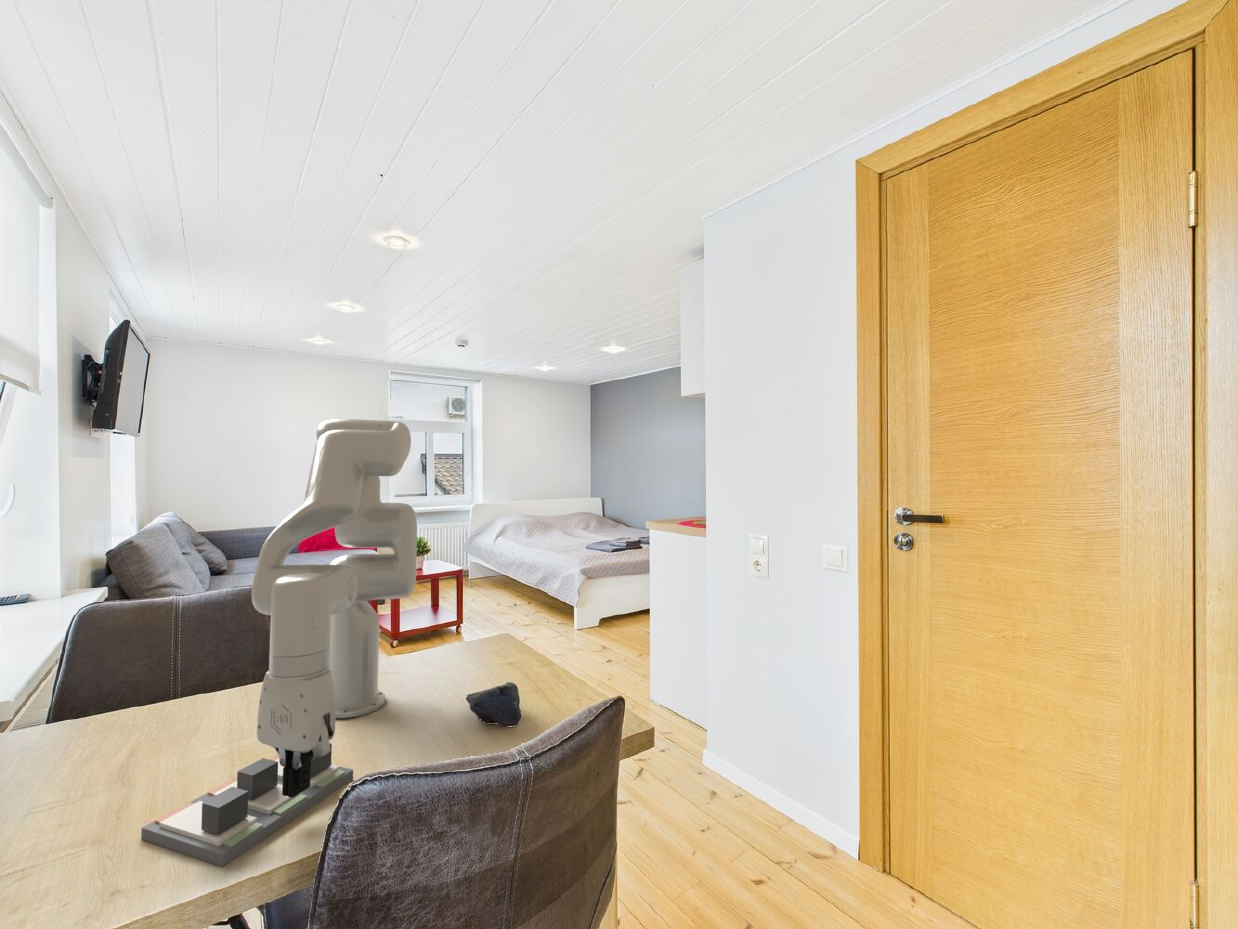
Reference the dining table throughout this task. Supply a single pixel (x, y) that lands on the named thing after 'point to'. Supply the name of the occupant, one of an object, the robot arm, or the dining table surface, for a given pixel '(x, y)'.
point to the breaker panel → (263, 820)
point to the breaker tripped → (258, 777)
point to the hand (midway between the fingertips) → (296, 791)
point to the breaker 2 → (321, 763)
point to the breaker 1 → (224, 810)
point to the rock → (497, 704)
